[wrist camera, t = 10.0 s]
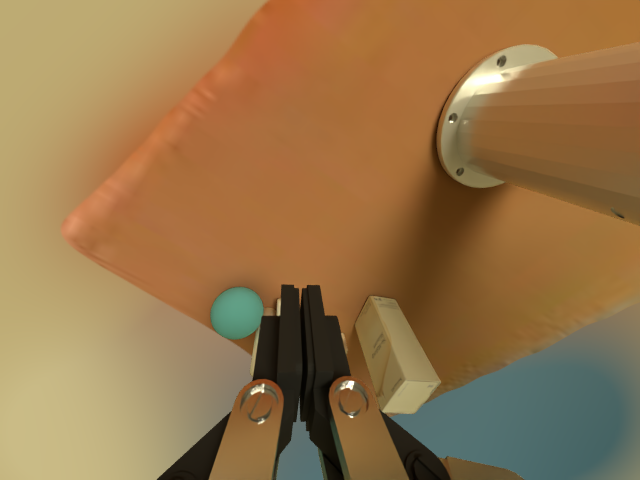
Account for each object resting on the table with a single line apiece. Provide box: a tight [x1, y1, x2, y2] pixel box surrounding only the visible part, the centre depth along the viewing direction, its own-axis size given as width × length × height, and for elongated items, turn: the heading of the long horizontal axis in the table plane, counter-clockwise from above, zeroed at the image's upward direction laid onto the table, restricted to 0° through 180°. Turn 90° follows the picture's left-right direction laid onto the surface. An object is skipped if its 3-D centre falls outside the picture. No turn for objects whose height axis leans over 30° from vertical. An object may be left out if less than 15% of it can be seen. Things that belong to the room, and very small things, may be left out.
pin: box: [250, 307, 276, 377], centre depth 30 cm, size 2×2×8 cm
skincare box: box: [355, 296, 441, 414], centre depth 30 cm, size 6×4×12 cm
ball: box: [210, 287, 264, 339], centre depth 29 cm, size 6×6×6 cm
